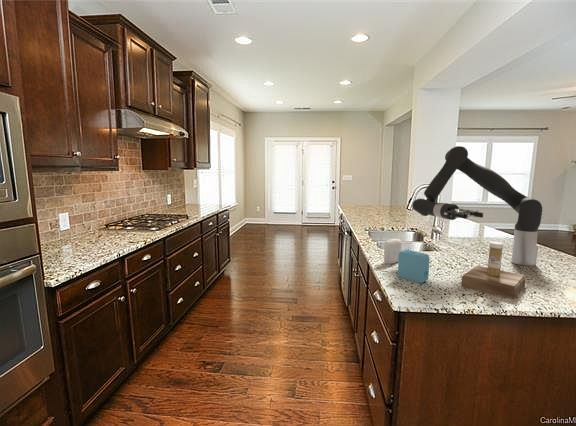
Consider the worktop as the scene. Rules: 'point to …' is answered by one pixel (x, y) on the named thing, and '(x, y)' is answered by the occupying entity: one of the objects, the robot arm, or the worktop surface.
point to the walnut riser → (494, 282)
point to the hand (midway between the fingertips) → (474, 215)
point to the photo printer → (392, 250)
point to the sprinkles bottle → (495, 258)
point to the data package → (413, 266)
